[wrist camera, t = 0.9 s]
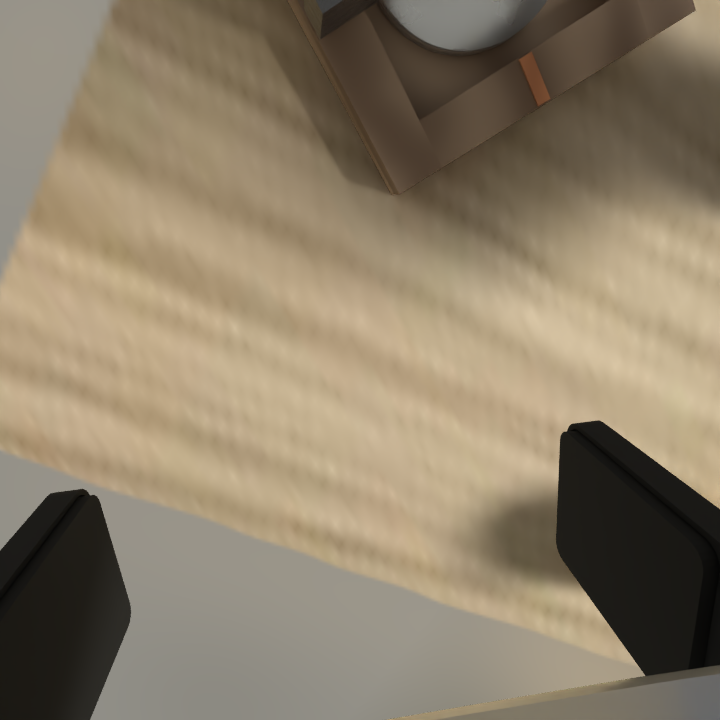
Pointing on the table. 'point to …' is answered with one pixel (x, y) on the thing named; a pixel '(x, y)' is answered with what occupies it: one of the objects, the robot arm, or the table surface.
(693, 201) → the table surface
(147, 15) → the table surface
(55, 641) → the robot arm
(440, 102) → the wooden frame
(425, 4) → the dial
